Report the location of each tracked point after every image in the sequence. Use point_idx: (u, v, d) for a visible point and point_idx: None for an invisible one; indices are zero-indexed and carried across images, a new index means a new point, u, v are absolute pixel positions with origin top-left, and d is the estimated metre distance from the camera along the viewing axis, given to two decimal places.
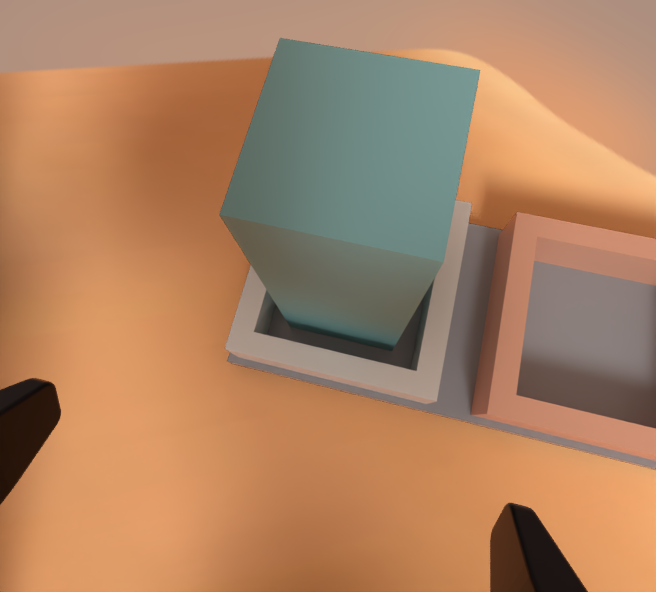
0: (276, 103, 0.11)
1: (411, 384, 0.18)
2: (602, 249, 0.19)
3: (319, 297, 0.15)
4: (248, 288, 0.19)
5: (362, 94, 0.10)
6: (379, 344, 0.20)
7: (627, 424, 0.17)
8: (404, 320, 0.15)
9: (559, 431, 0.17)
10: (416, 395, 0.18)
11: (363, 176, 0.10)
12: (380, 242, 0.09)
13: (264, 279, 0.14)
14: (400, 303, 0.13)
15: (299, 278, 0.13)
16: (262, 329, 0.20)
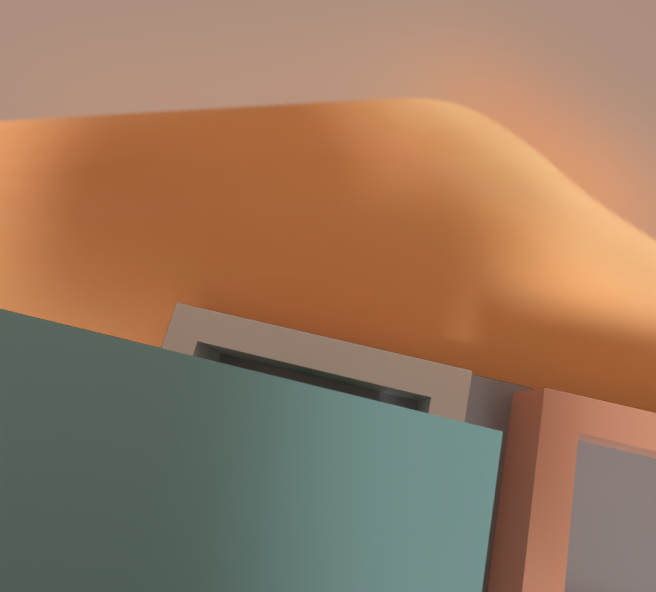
0: None
1: None
2: None
3: None
4: None
5: (101, 520, 0.03)
6: None
7: None
8: None
9: None
10: None
11: None
12: None
13: None
14: None
15: None
16: None
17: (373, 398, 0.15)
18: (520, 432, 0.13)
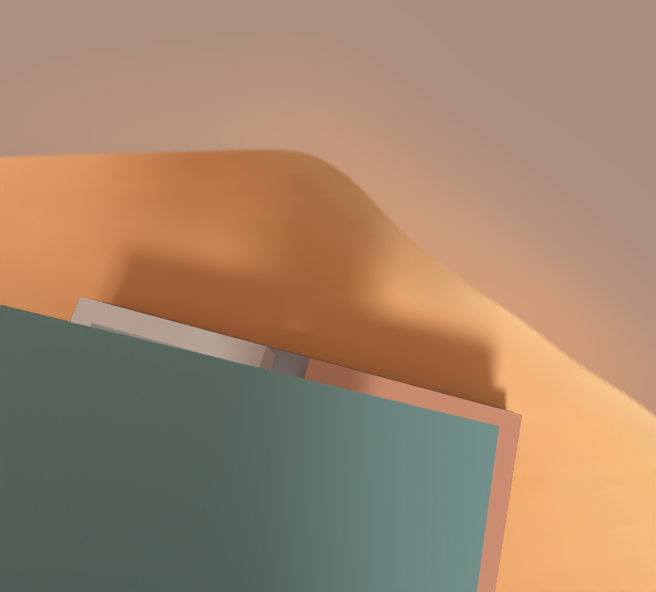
0: None
1: None
2: None
3: None
4: None
5: (100, 514, 0.03)
6: None
7: None
8: None
9: None
10: None
11: None
12: None
13: None
14: None
15: None
16: None
17: None
18: None
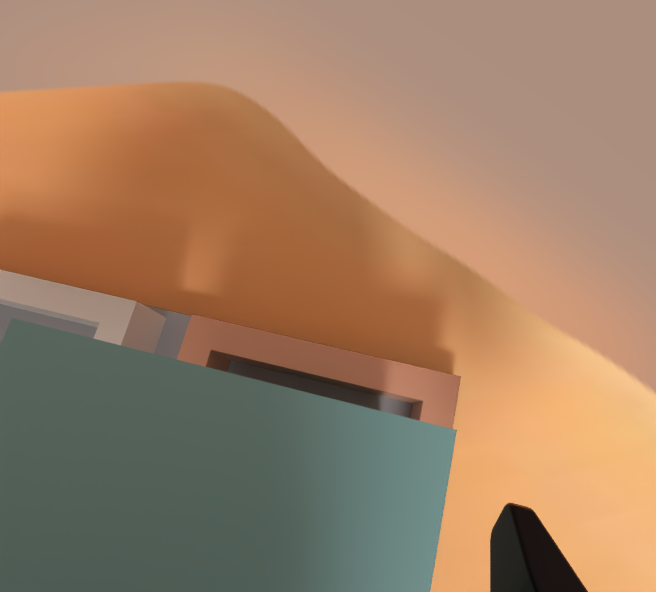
0: None
1: None
2: (291, 368, 0.14)
3: None
4: None
5: (173, 490, 0.04)
6: None
7: None
8: None
9: None
10: None
11: None
12: None
13: None
14: None
15: None
16: None
17: None
18: None
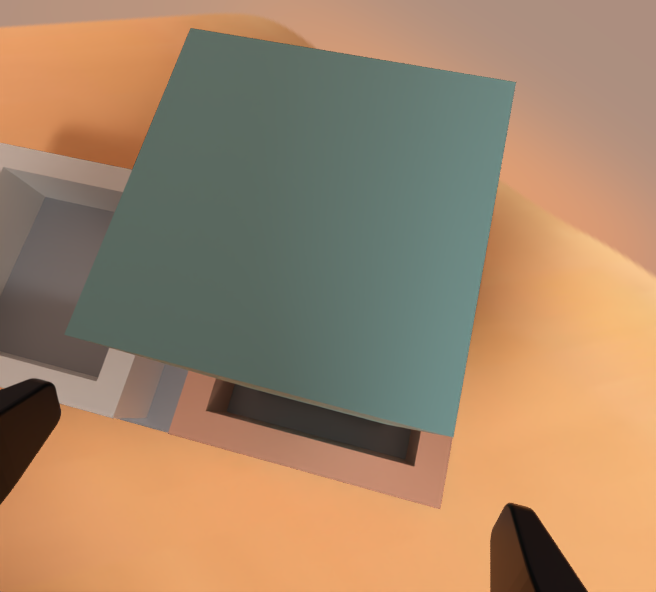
0: (176, 138, 0.06)
1: (87, 397, 0.15)
2: None
3: None
4: None
5: (318, 122, 0.06)
6: None
7: (327, 447, 0.14)
8: (395, 425, 0.11)
9: (249, 455, 0.14)
10: (90, 410, 0.15)
11: (314, 267, 0.06)
12: (340, 395, 0.05)
13: None
14: None
15: (238, 383, 0.09)
16: None
17: None
18: None
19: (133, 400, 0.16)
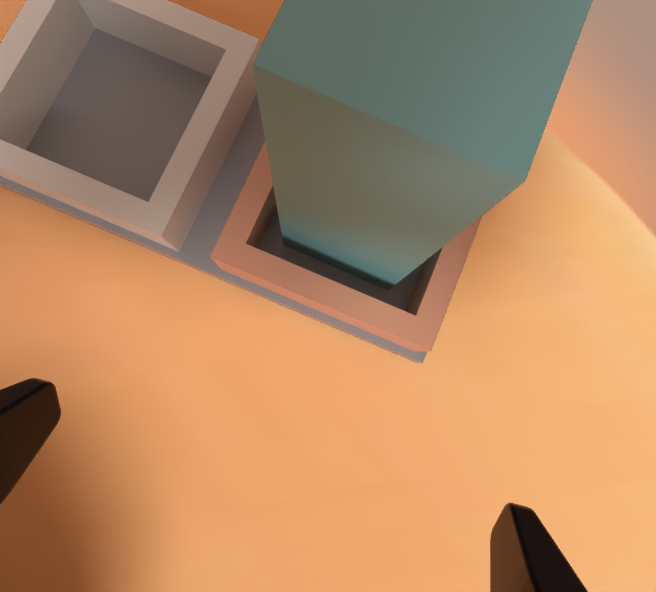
0: None
1: (139, 214, 0.17)
2: None
3: (335, 211, 0.13)
4: None
5: None
6: (378, 280, 0.18)
7: (347, 289, 0.17)
8: (424, 255, 0.13)
9: (279, 286, 0.17)
10: (141, 226, 0.17)
11: (444, 52, 0.08)
12: (452, 142, 0.07)
13: (276, 176, 0.12)
14: (431, 232, 0.11)
15: (321, 181, 0.11)
16: (7, 139, 0.18)
17: (204, 80, 0.20)
18: None
19: (175, 228, 0.18)
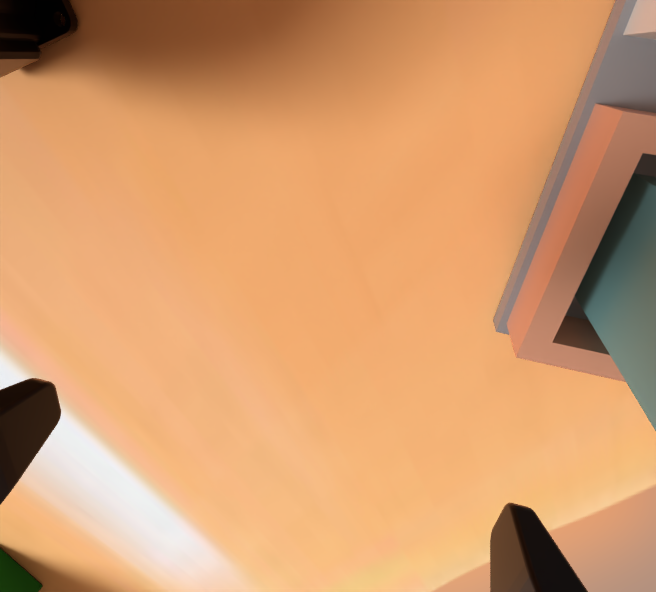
0: None
1: None
2: None
3: None
4: None
5: None
6: (587, 289, 0.17)
7: (580, 277, 0.15)
8: (637, 392, 0.13)
9: (582, 204, 0.14)
10: None
11: None
12: None
13: None
14: None
15: None
16: None
17: None
18: None
19: None
